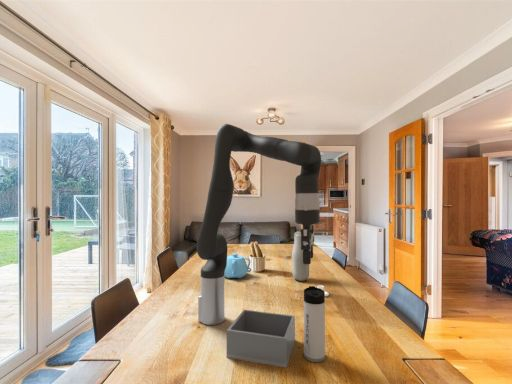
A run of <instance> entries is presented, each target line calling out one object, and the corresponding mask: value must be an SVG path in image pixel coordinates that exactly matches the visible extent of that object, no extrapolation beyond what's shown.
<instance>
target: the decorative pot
mask: <svg viewBox="0 0 512 384" xmlns="http://www.w3.org/2000/svg"><path fill="white" fill-rule="evenodd" d="M231 254H232V255H227V266H226V269H225V277H226V278H227V279H231V278H235V279H236V278H237V279H243V278H244V277H246V275H247V273H251V272H252V267H250V265H251V262H252V261H251V259H250V257H249V258H248V257H244V256H243V255H239V254H238V253H231ZM246 260H248V264H247V262H246Z"/></svg>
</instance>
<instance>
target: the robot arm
mask: <svg viewBox="0 0 512 384" xmlns="http://www.w3.org/2000/svg"><path fill="white" fill-rule="evenodd" d="M232 152H235V153H237V152H240V153H241V152H242V153H244V152H246V153H253V154H258V155H260V156H263V157H266V158H268V159H273V160H277V161H283V162H286V163H290V164H292V165H296V166H298V167H300V173H299V175H297V176H296V177H295V181H294V183H295V185H294V188H295V191H294V192H295V193H294V194H295V198H294V217H295V218H294V222H295V224H296V225H302V228H301V229H300V231H301V250H302V251H303V264H309V265H310V264H311V263H312V259H313V257H314V246H315V244H314V243H315V231H316V230H315V229H314V225H318V224H320V222H321V217H320V215H321V214H320V212H321V211H320V210H321V209H320V197H319V176H320V171H321V165H322V156H321V151H320V150H319V148H318V147H317V146H315V145H313V144H309V143H307V142H306V143H305V142H301V141H297V140H295V141H293V140H288V139H285V138H280V137H279V138H278V137H274V136H261V135H255V134H252V133H251V132H249V131H246V130H244V129H242V128H241V127H238V126H235V125H232V124H229V123H224V124H222V125H220V127H219V128H218V130H217V132H216V136H215V144H214V155H213V156H214V157H213V165H212V171H211V179H210V184H209V187H208V192H207V193H208V194H207V198H206V200H207V201H206V204H205V205H206V206H205V209H204V214H203V220H202V223H201V227H200V231H199V234H198V237H197V242H196V253H197V255H198V257H199V258H200V259H201V260H205V261H206V262H205V264H204V265H203V266H202V267H201V269H200V295H198V299H197V300H198V303H197V306H198V307H197V308H198V309H197V310H198V311H197V312H198V315H197V316H198V317H197V318H198V319H197V320H198V323H199V322H200V323H202V324H203V325H207V326H215V325H218V324H221V323H223V322H224V321H225V285H226V284H225V279H226V278H225V269H226V266H227V257H228V242H227V239H226V237H225V236H224V235H223V234H222V233H218V231H219V227H220V225H221V222H222V220H224V217H226V214H227V213H228V211H229V208H230V207H231V205H232V201H233V196H234V189H235V184H234V179H233V175H232V171H231V167H230V166H231V164H230V163H231V156H232V155H231V154H232ZM304 245H306V246H304Z"/></svg>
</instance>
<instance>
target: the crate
mask: <svg viewBox="0 0 512 384" xmlns="http://www.w3.org/2000/svg"><path fill="white" fill-rule="evenodd" d="M295 342H296V316H295V315H293V314H292V315H291V314H283V313H282V314H281V313H275V312H266V311H259V310H258V311H257V310H252V309H251V310H249V309H243V310H242V311H241V313H240V314H239V315H238V316H237V318H235V320H234V321H233V322H232V323H231V325H230V326H229V327H228V328H227V329H226V358H229V359H235V360H240V361H246V362H251V363H256V364H263V365H268V366H275V367H279V368H280V367H281V368H287V367H288V364H289V361H290V357H291V353H292V351H293V349H294V344H295Z"/></svg>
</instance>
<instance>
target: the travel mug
mask: <svg viewBox="0 0 512 384" xmlns="http://www.w3.org/2000/svg"><path fill="white" fill-rule="evenodd" d="M324 291H325V290H324ZM324 291H323V290H322V289H320V288H317V287H315V285H311V286H310V285H309V286H308V287H306V288H304V289H303V357H304V358H305V360H307V361H309V362H311V363H321V362H323V361H324V360H325V359H326V300H325V298H326V296H325V292H326V291H325V292H324Z"/></svg>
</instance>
